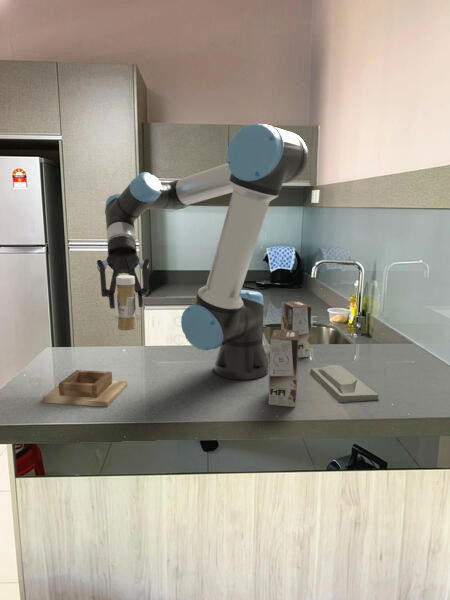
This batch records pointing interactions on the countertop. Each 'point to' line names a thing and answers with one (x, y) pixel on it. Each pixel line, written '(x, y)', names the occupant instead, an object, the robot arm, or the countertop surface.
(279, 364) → the coffee box
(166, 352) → the countertop surface
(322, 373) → the soap mold
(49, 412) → the countertop surface
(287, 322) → the coffee box
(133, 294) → the sprinkles bottle
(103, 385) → the socket board
